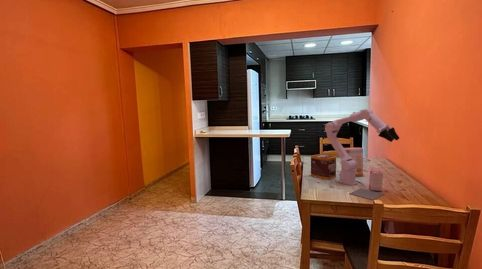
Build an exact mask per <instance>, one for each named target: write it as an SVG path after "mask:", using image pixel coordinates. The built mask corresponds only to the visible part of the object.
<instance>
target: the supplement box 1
mask: <svg viewBox="0 0 482 269" xmlns="http://www.w3.org/2000/svg"><path fill="white" fill-rule="evenodd" d="M310 176H311V177H315V178H320V179H323V180H327V181H329V180H331V179H335V178H337V156H333V155H328V154H320V153H319V154H314V155H311V156H310Z"/></svg>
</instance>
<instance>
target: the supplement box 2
mask: <svg viewBox="0 0 482 269" xmlns="http://www.w3.org/2000/svg"><path fill="white" fill-rule="evenodd" d="M383 174H384V173H383V172H382V171H379V170H370V171H369V181H368V182H369V184H368V190H370V191H375V192H382V191H383V190H382V189H383V179H384V178H383V177H384V176H383Z"/></svg>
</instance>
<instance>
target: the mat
mask: <svg viewBox="0 0 482 269" xmlns="http://www.w3.org/2000/svg"><path fill="white" fill-rule="evenodd" d="M349 195H351V196H355V197H359V198H362V199H366V200H371V201H375V200H377V199H378V198H381V197H382V196H385V195H386V194H385V193H382V192H380V191H371V190H370V189H365V188H359V189H357V190H354V191H352V192H350V193H349Z"/></svg>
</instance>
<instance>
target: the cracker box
mask: <svg viewBox="0 0 482 269" xmlns="http://www.w3.org/2000/svg"><path fill="white" fill-rule="evenodd" d="M343 148H344V149H345V151H346V152H347V154H348V155H349V156H350V157H352V158H353V159H354V160H355V161H356V162H357V164H358V166H357V168H356V170H355V177H364V148H362V147H343ZM342 169H343V168H342V167H341V170H342Z"/></svg>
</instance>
